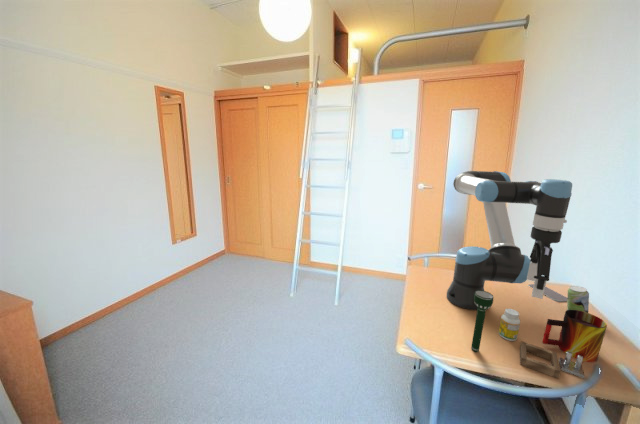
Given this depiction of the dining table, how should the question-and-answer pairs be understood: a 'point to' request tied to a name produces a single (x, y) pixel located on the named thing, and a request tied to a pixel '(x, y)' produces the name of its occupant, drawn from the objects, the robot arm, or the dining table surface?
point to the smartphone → (553, 294)
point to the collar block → (536, 365)
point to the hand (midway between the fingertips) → (533, 288)
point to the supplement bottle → (509, 325)
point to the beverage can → (578, 299)
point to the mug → (578, 334)
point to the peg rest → (572, 365)
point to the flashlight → (480, 315)
